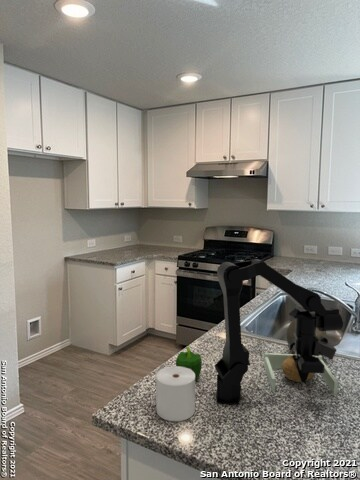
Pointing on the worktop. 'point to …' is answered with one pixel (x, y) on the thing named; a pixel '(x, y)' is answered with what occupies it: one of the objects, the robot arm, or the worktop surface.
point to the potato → (292, 370)
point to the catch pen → (276, 363)
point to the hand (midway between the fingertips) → (303, 382)
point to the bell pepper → (190, 361)
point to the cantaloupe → (292, 329)
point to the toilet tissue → (175, 393)
